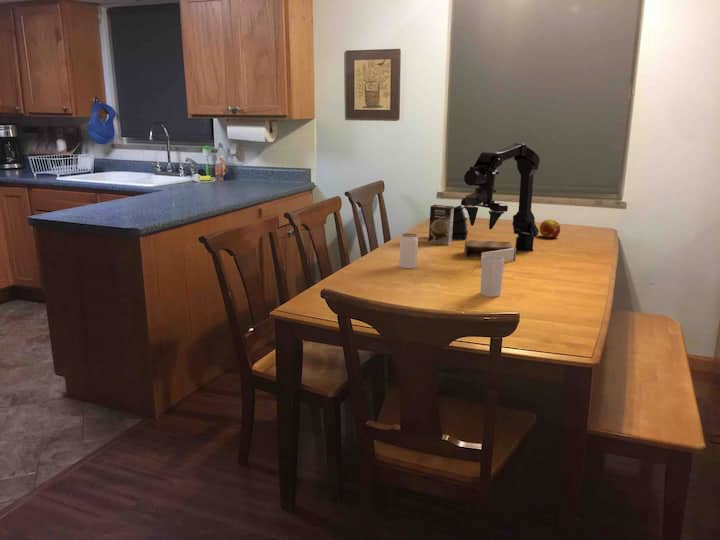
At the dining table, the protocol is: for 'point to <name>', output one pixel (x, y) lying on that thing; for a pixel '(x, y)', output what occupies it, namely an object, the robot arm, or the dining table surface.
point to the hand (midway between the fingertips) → (481, 227)
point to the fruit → (550, 228)
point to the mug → (491, 275)
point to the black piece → (459, 224)
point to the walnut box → (483, 247)
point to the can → (408, 251)
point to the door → (502, 254)
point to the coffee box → (441, 224)
